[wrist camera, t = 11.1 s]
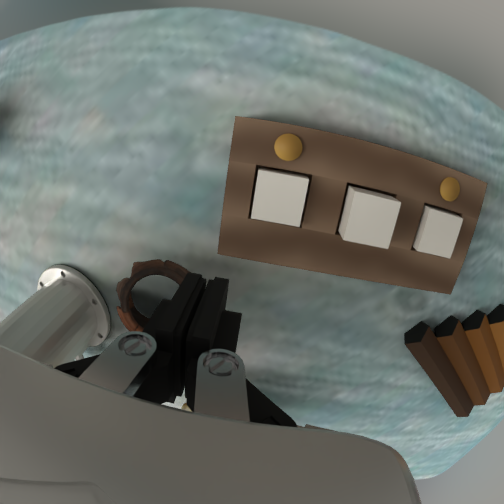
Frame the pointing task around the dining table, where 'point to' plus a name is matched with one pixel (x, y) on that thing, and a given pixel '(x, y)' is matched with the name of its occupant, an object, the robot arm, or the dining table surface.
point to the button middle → (368, 217)
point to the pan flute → (462, 357)
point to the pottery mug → (139, 270)
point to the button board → (332, 203)
